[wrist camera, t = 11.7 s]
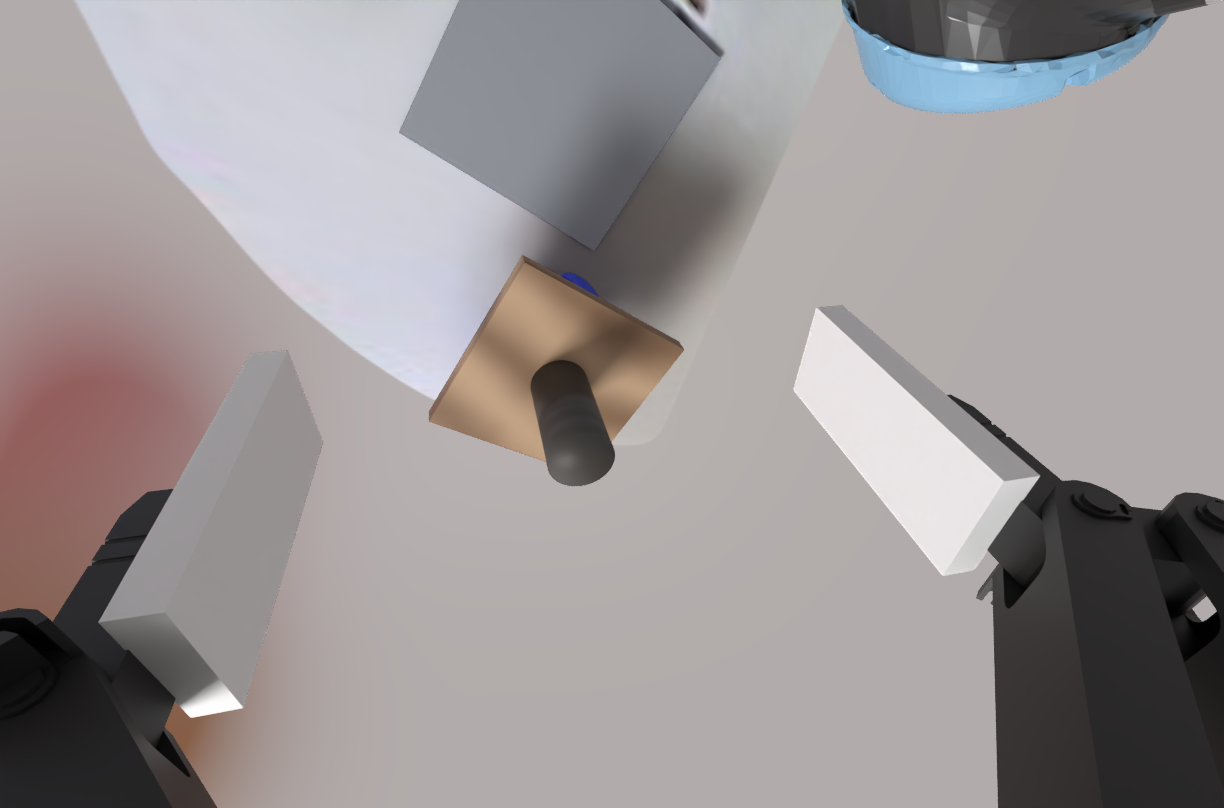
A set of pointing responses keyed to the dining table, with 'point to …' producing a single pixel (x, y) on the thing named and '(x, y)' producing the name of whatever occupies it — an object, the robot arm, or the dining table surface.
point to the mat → (559, 101)
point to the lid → (554, 374)
